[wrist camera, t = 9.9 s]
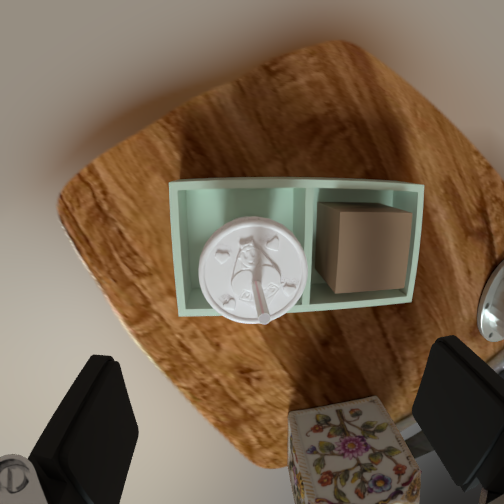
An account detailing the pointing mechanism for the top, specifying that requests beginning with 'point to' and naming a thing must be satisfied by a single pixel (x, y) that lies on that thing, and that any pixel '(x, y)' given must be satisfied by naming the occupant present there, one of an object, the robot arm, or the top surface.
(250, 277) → the white cup
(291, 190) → the tote
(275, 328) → the top surface
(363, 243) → the walnut block
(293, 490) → the decorative jar
